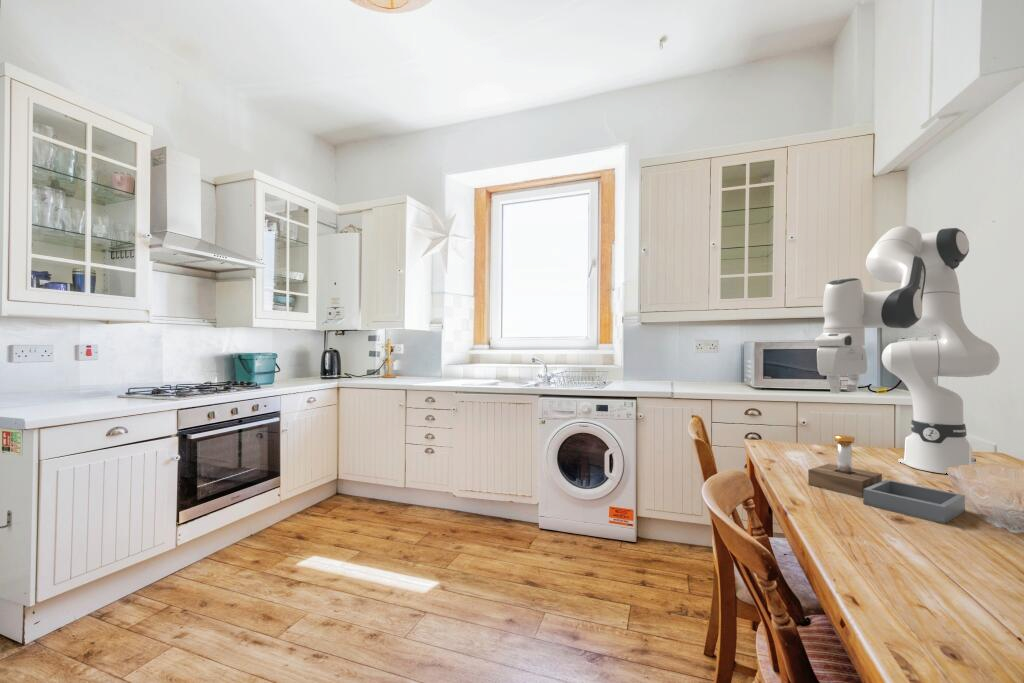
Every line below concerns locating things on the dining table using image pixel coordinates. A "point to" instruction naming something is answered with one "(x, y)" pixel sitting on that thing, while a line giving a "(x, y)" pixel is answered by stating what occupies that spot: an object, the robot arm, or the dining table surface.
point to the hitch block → (842, 479)
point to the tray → (915, 500)
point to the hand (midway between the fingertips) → (843, 392)
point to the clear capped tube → (844, 453)
